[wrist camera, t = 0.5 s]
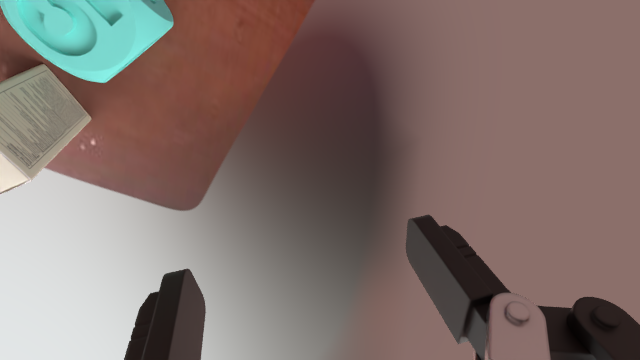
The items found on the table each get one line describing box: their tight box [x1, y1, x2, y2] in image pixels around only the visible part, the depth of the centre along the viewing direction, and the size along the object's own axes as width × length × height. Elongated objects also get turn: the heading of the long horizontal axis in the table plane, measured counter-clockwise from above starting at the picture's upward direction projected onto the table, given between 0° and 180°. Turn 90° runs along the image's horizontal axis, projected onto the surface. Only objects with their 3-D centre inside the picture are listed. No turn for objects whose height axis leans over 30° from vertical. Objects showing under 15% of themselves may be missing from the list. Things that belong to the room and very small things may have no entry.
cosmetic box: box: [0, 64, 91, 195], centre depth 26 cm, size 6×4×12 cm
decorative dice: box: [0, 0, 173, 83], centre depth 24 cm, size 8×8×8 cm
